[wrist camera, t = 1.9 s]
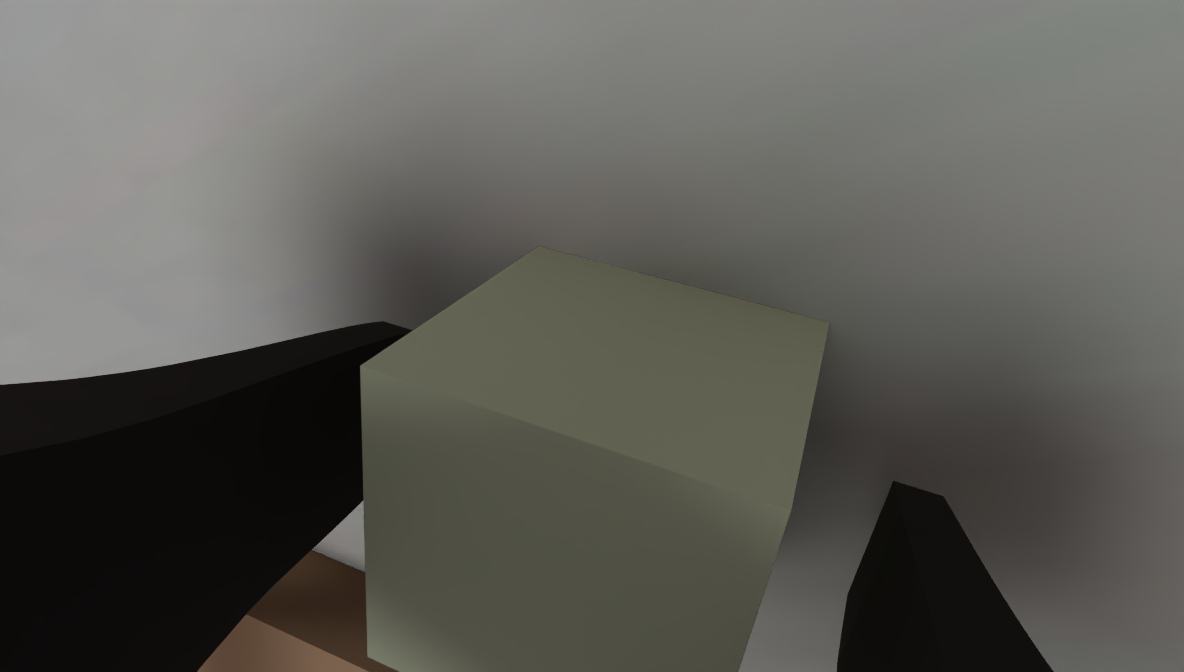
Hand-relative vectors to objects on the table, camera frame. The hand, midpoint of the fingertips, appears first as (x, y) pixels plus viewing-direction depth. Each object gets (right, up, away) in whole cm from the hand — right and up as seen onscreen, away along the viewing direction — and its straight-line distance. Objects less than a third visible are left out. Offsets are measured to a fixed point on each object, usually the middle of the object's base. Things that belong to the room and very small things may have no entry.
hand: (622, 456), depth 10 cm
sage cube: (+1, +1, +1) cm, 2 cm away
